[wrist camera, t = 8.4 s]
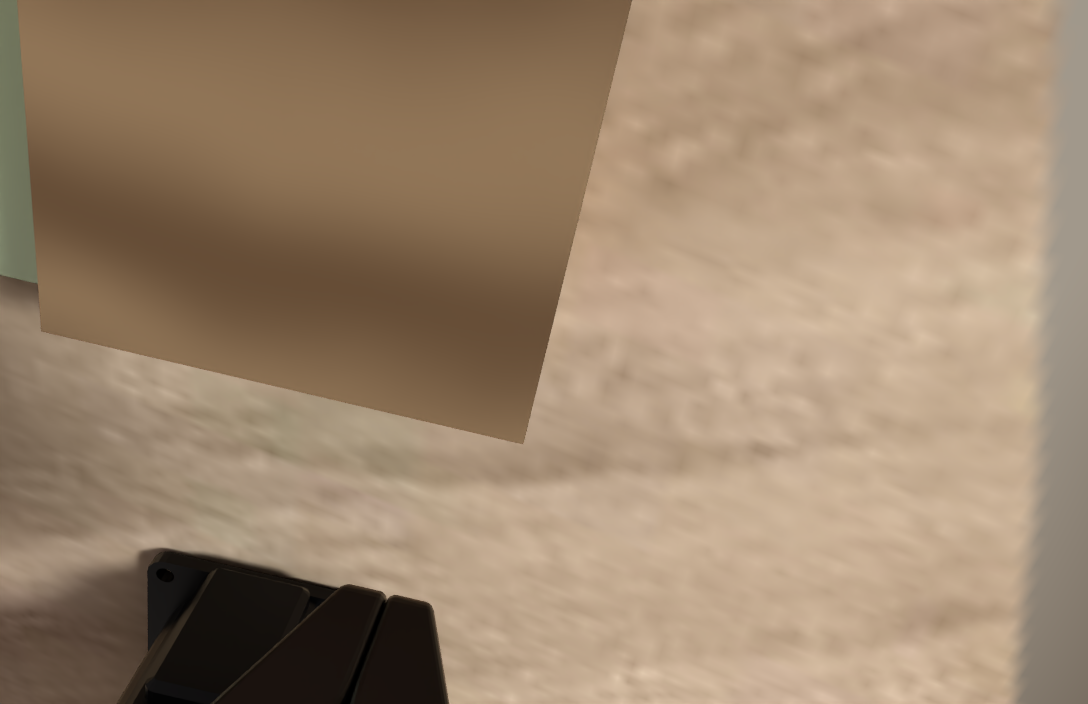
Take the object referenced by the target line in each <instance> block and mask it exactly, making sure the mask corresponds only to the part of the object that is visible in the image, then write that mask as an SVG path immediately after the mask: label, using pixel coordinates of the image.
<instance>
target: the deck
mask: <svg viewBox="0 0 1088 704" xmlns="http://www.w3.org/2000/svg"><path fill="white" fill-rule="evenodd" d="M631 2H632V0H17V7H18V21H19V34H20V48H21V62H22V75H23V89H24V102H25V116H26V130H27V143H28V157H29V170H30V184H31V198H32V211H33V225H34V238H35V252H36V266H37V279H38V293H39V307H40V320H41V331H42V332H47V333H51V334H55V335H59V336H64V337H68V338H72V339H76V340H81V341H85V342H89V343H94V344H98V345H102V346H106V347H111V348H115V349H119V350H123V351H128V352H132V353H136V354H140V355H145V356H149V357H153V358H157V359H162V360H166V361H170V362H175V363H179V364H183V365H187V366H192V367H196V368H200V369H204V370H209V371H213V372H217V373H221V374H226V375H230V376H234V377H238V378H243V379H247V380H251V381H255V382H260V383H264V384H268V385H273V386H277V387H281V388H285V389H290V390H294V391H298V392H302V393H307V394H311V395H315V396H319V397H324V398H328V399H332V400H336V401H341V402H345V403H349V404H354V405H358V406H362V407H366V408H371V409H375V410H379V411H383V412H388V413H392V414H396V415H400V416H405V417H409V418H413V419H417V420H422V421H426V422H430V423H435V424H439V425H443V426H447V427H452V428H456V429H460V430H464V431H469V432H473V433H477V434H481V435H486V436H490V437H494V438H498V439H503V440H507V441H511V442H515V443H520V444H523V443H524V439H525V435H526V431H527V427H528V422H529V418H530V414H531V410H532V406H533V402H534V398H535V394H536V390H537V386H538V382H539V378H540V374H541V369H542V365H543V361H544V357H545V353H546V349H547V345H548V341H549V337H550V333H551V329H552V325H553V320H554V316H555V312H556V308H557V304H558V300H559V296H560V292H561V288H562V284H563V280H564V276H565V272H566V267H567V263H568V259H569V255H570V251H571V247H572V243H573V239H574V235H575V231H576V227H577V223H578V218H579V214H580V210H581V206H582V202H583V198H584V194H585V190H586V186H587V182H588V178H589V174H590V170H591V165H592V161H593V157H594V153H595V149H596V145H597V141H598V137H599V133H600V129H601V125H602V121H603V116H604V112H605V108H606V104H607V100H608V96H609V92H610V88H611V84H612V80H613V76H614V72H615V68H616V63H617V59H618V55H619V51H620V47H621V43H622V39H623V35H624V31H625V27H626V23H627V19H628V14H629V10H630V6H631Z"/></svg>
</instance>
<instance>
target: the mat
mask: <svg viewBox="0 0 1088 704" xmlns="http://www.w3.org/2000/svg"><path fill="white" fill-rule="evenodd" d="M0 275H2V276H7V277H11V278H15V279H19V280H24V281H28V282H32V283H36V284H38V279H37V266H36V252H35V238H34V225H33V211H32V198H31V184H30V170H29V157H28V143H27V130H26V116H25V102H24V89H23V75H22V62H21V48H20V34H19V21H18V7H17V0H0Z"/></svg>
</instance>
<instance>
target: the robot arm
mask: <svg viewBox="0 0 1088 704" xmlns="http://www.w3.org/2000/svg"><path fill="white" fill-rule="evenodd" d="M166 569H167V570H166ZM168 570H170V571H171V572H170V571H168ZM147 576H148V653H147V655H146V656H145V658H144V660H143V661H142V663H141V665H140V666H139V668H138V669H137V671H136V673H135V674H134V676H133V678H132V679H131V681H130V683H129V684H128V686H127V688H126V689H125V691H124V692H123V694H122V696H121V697H120V699H119V701H118V702H117V704H449V700H448V694H447V688H446V682H445V676H444V670H443V664H442V658H441V652H440V646H439V639H438V633H437V627H436V621H435V615H434V610H433V608H432V606H431V605H430V604H429V603H427V602H424V601H420V600H415V599H411V598H407V597H403V596H398V595H393V596H390V597H389V598H388V600H387V598H386V596H385V594H384V593H383V592H381V591H377V590H372V589H368V588H364V587H360V586H355V585H351V584H347V585H343V586H341V587H340V588H339V589H337V590H331V589H327V588H323V587H318V586H314V585H310V584H305V583H301V582H297V581H292V580H288V579H284V578H279V577H275V576H271V575H267V574H262V573H258V572H254V571H249V570H245V569H241V568H236V567H232V566H228V565H223V564H219V563H215V562H211V561H206V560H202V559H198V558H193V557H189V556H185V555H180V554H176V553H172V552H163V553H159V554H158V555H157V556H156V557H155V558H154V560H153V561H152V563H151V564H150V566H149V568H148V571H147Z"/></svg>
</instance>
